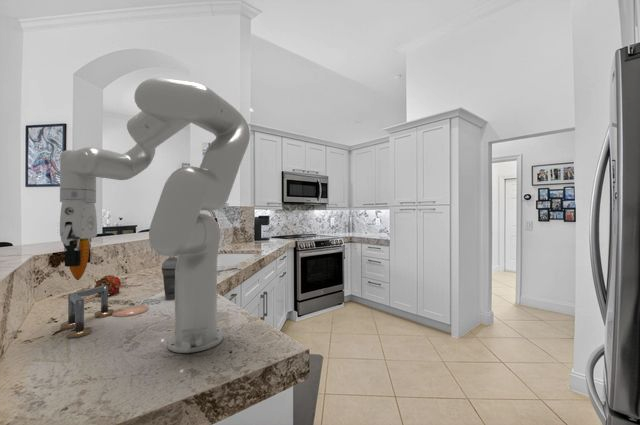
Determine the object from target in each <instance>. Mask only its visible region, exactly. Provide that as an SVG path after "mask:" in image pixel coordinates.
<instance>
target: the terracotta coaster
mask: <svg viewBox="0 0 640 425" xmlns="http://www.w3.org/2000/svg"><path fill="white" fill-rule="evenodd" d="M149 309H150V308H149V305H143V304H142V305H141V304H136V305H129V306H123V307H121V308H117V309H114V312H113V313H112V315H111V316H112V317H117V318H125V317H126V318H127V317H133V316H137V315H142V314H144V313H146V312H148V311H149Z"/></svg>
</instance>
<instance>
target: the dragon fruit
mask: <svg viewBox="0 0 640 425" xmlns="http://www.w3.org/2000/svg"><path fill="white" fill-rule="evenodd" d="M104 285H107V286H108V294H111V295H112V294H116V293H117V294H118V293H119V292H120V287H121V286H122V282H121V279H120V278H119V277H118V276H115V275H112V274H108V275H104V276H103V277H101V278H100V279H98V280H97V281H95V285H94V287H93V288H96V287H100V286H104ZM97 294H98V295H100V294H101V292H98V293H97Z"/></svg>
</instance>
